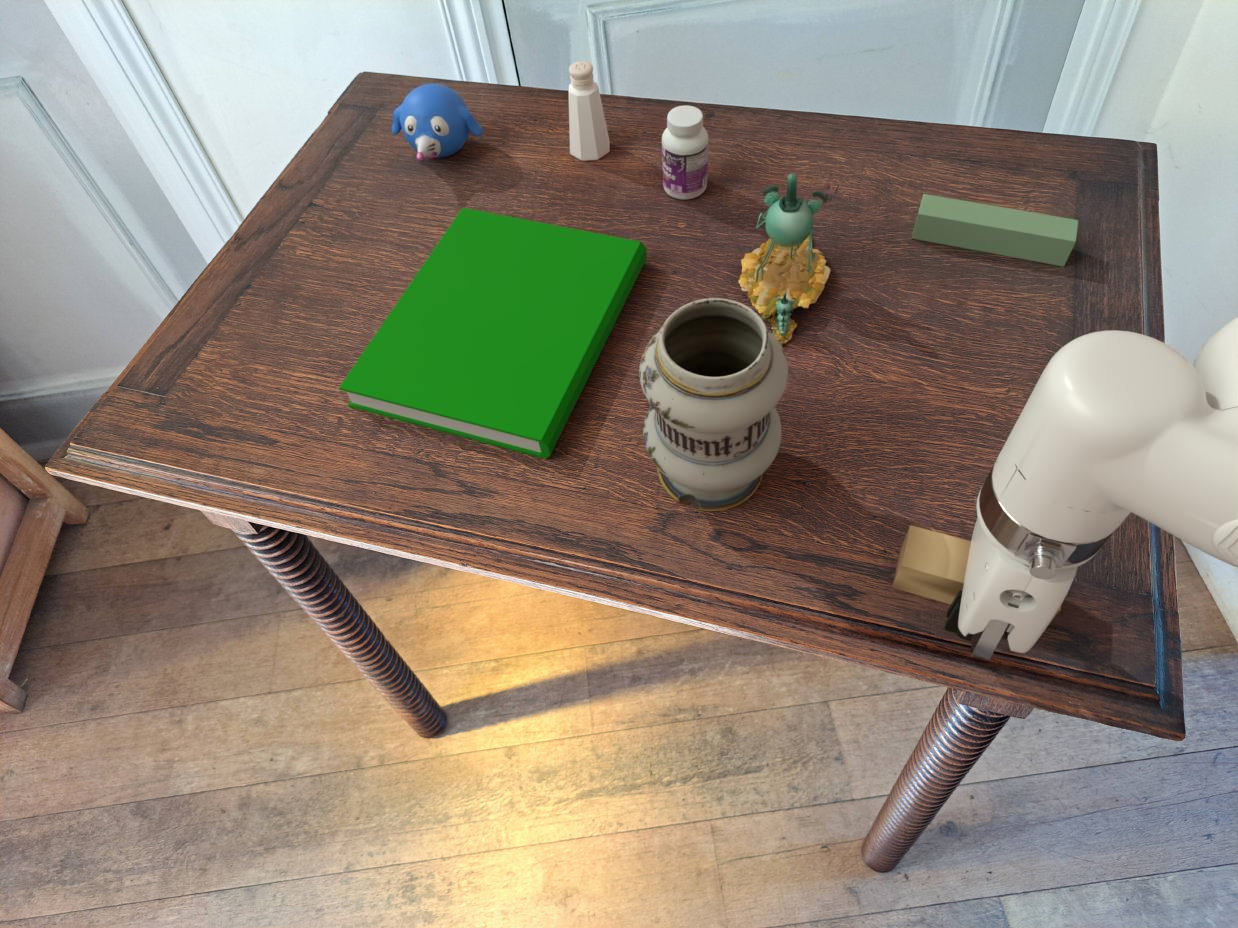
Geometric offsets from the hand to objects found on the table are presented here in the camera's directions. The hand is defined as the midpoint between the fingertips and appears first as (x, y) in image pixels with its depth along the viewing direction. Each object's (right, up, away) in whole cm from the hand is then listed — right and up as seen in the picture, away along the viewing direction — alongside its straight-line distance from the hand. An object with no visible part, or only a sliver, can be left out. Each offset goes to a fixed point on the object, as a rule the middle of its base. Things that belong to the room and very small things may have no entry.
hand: (965, 626), depth 67 cm
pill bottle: (-19, +46, +36) cm, 61 cm away
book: (-39, +27, +25) cm, 54 cm away
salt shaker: (-31, +53, +42) cm, 74 cm away
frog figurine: (-10, +32, +26) cm, 42 cm away
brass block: (+2, +2, +4) cm, 5 cm away
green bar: (+13, +37, +27) cm, 48 cm away
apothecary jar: (-19, +12, +13) cm, 26 cm away
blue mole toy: (-50, +52, +43) cm, 84 cm away
